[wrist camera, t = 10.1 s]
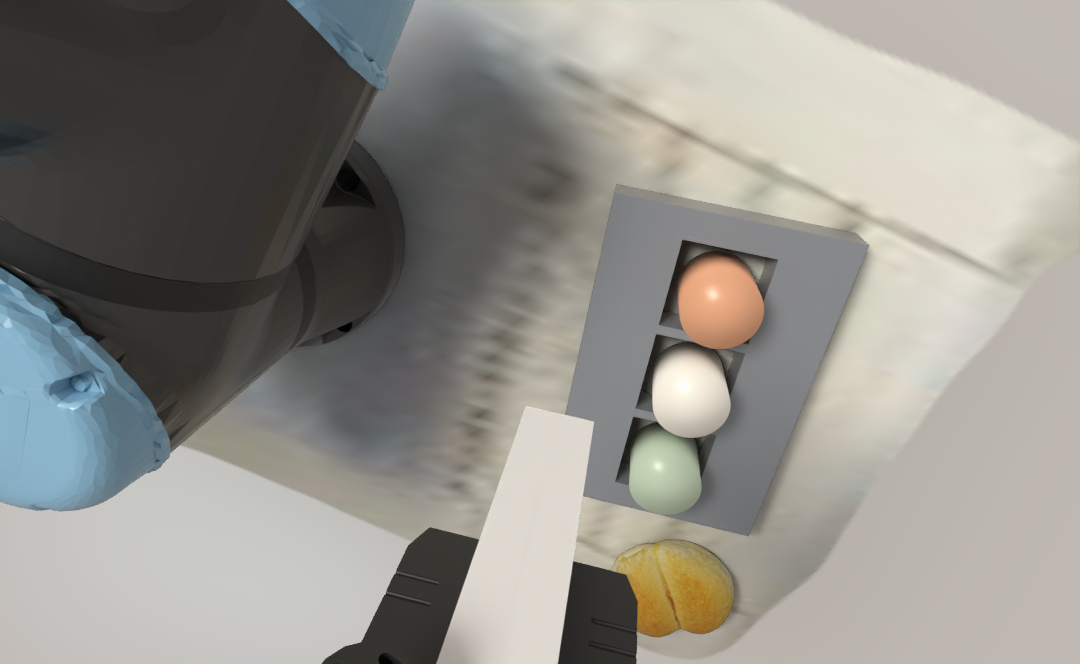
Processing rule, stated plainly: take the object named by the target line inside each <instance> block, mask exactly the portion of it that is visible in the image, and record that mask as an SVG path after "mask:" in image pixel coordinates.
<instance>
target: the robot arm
mask: <svg viewBox="0 0 1080 664" xmlns="http://www.w3.org/2000/svg"><path fill="white" fill-rule="evenodd" d="M414 1H415V0H0V502H2V503H5V504H9V505H12V506H16V507H20V508H26V509H32V510H37V511H38V510H55V511H72V510H80V509H85V508H88V507H92V506H95V505H97V504H99V503H103V502H104V501H106V500H108V499H110V498H111V497H113V496H115V495H116V494H117V493H119V492H120V491H122V490H123V489H124V488H126V487H127V486H128V485H130V484H131V483H133V482H134V481H135V480H137V479H138V478H140V477H141V476H143V475H144V474H146V473H150V472H151V471H156V470H157V469H158V468H160V467H161V466H162V464H163V463H164V462H165V461H166V460H167V459H168V458H169V456H170V453H171V452H172V451H173V450H174V449H176V448H177V447H178V446H179V445H180V444H181V443H183V442H184V441H185V440H186V439H187V438H188V437H190V436H191V435H192V434H193V433H194V432H195V431H197V430H198V429H199V428H200V427H201V426H202V425H204V424H205V423H206V422H207V421H208V420H209V419H211V418H212V417H213V416H214V415H215V414H216V413H218V412H219V411H220V410H221V409H222V408H223V407H225V406H226V405H227V404H228V403H229V402H230V401H232V400H233V399H234V398H235V397H236V396H237V395H239V394H240V393H241V392H242V391H243V390H244V389H246V388H247V387H248V386H249V385H250V384H251V383H253V382H254V381H255V380H256V379H257V378H258V377H260V376H261V375H262V374H263V373H264V372H265V371H267V370H268V369H269V368H270V367H271V366H272V365H274V364H275V363H276V362H277V361H278V360H279V359H281V358H282V357H283V356H284V355H285V354H286V353H288V352H292V351H296V350H300V349H304V348H308V347H313V346H317V345H321V344H325V343H329V342H332V341H335V340H338V339H340V338H342V337H344V336H346V335H348V334H350V333H352V332H353V331H355V330H356V329H358V328H359V327H361V326H362V325H363V324H364V323H365V322H367V321H368V320H369V319H370V318H371V317H372V316H373V315H374V314H375V313H376V312H377V311H378V310H379V309H380V308H381V307H382V306H383V305H384V303H385V302H386V301H387V299H388V298H389V297H390V295H391V293H392V292H393V290H394V288H395V286H396V284H397V281H398V279H399V276H400V272H401V269H402V264H403V258H404V230H403V223H402V218H401V214H400V210H399V207H398V204H397V201H396V198H395V196H394V193H393V191H392V189H391V187H390V185H389V183H388V181H387V179H386V178H385V176H384V174H383V173H382V171H381V170H380V168H379V167H378V165H377V164H376V163H375V161H374V160H373V159H372V158H371V156H370V155H369V154H368V153H367V152H366V151H365V150H364V149H363V148H362V147H361V146H360V145H359V144H358V143H357V142H356V141H355V140H354V139H355V137H356V135H357V133H358V131H359V129H360V127H361V125H362V123H363V121H364V119H365V117H366V114H367V112H368V110H369V108H370V106H371V104H372V102H373V100H374V98H375V96H376V94H377V92H378V90H382V91H383V90H384V88H385V86H386V84H387V79H388V75H387V71H386V69H387V66H388V64H389V62H390V59H391V57H392V54H393V52H394V50H395V47H396V45H397V42H398V40H399V38H400V35H401V33H402V30H403V28H404V26H405V23H406V21H407V18H408V16H409V14H410V11H411V9H412V6H413V4H414ZM593 426H594V421H590V420H585V419H581V418H577V417H573V416H568V415H564V414H560V413H555V412H551V411H547V410H543V409H538V408H534V407H530V406H525V409H524V412H523V415H522V418H521V421H520V424H519V427H518V430H517V432H516V435H515V438H514V441H513V444H512V447H511V450H510V453H509V455H508V458H507V461H506V464H505V467H504V470H503V473H502V476H501V479H500V481H499V484H498V487H497V490H496V493H495V496H494V499H493V502H492V505H491V507H490V510H489V513H488V516H487V519H486V522H485V525H484V528H483V531H482V533H481V536H480V539H479V540H478V539H474V538H470V537H466V536H462V535H458V534H454V533H450V532H446V531H442V530H438V529H434V528H428V529H427V530H426V531H425V532H424V533H422V534H421V535H420V536H419V537H418V538H417V539H415V540H414V541H413V542H412V543H411V544H409V545H408V547H407V549H406V551H405V554H404V555H403V558H402V560H401V562H400V564H399V566H398V568H397V571H396V574H395V575H394V576H393V578H392V580H391V582H390V585H389V586H388V588H387V592H386V595H384V597H383V599H382V601H381V603H380V605H379V607H378V609H377V611H376V613H375V616H374V617H373V619H372V622H371V624H370V626H369V628H368V630H367V632H366V634H365V636H364V638H363V640H362V642H361V643H357V644H353V645H349V646H345V647H343V648H342V649H340V650H338V651H337V652H335V653H334V654H332V655H331V656H329V657H328V658H326V659H325V660H324V662H323V663H322V664H636V653H637V635H636V632H637V613H638V601H637V598H636V596H635V594H634V591H633V589H632V587H631V584H630V582H629V579H628V577H627V575H626V574H622V573H618V572H614V571H610V570H606V569H602V568H598V567H594V566H590V565H586V564H582V563H578V562H574V561H573V559H574V552H575V545H576V539H577V532H578V525H579V519H580V512H581V505H582V499H583V492H584V485H585V479H586V472H587V465H588V459H589V452H590V445H591V439H592V432H593Z"/></svg>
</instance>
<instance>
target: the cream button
mask: <svg viewBox="0 0 1080 664" xmlns="http://www.w3.org/2000/svg"><path fill="white" fill-rule="evenodd" d="M652 401H653V412H654V415H655V417H656V419H657V421H658V422H659V424H660V425H661V426H662V427H663V428H664V429H666V430H667V431H669V432H670V433H672V434H675V435H677V436H681V437H687V438H696V437H702V436H706V435H708V434H711V433H713V432H714V431H716V430H717V429H719V428H720V427H721V426H722V425H723V424H724V422H725V421H726V419H727V418H728V415H729V412H730V407H731V403H730V397H729V392H728V388H727V383H726V379H725V375H724V370H723V366H722V363H721V360H720V359H719V357H718V356H717V354H716V353H715V352H714V351H713V350H711V349H710V348H708V347H704V346H702V345H700V344H698V343H694V342H682V343H677V344H674V345H672V346H670V347H668V348H666V349H665V350H664V351H662V352H661V353H660V354H659V356H658V357H657V359H656V360H655V363H654V365H653V371H652Z"/></svg>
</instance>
